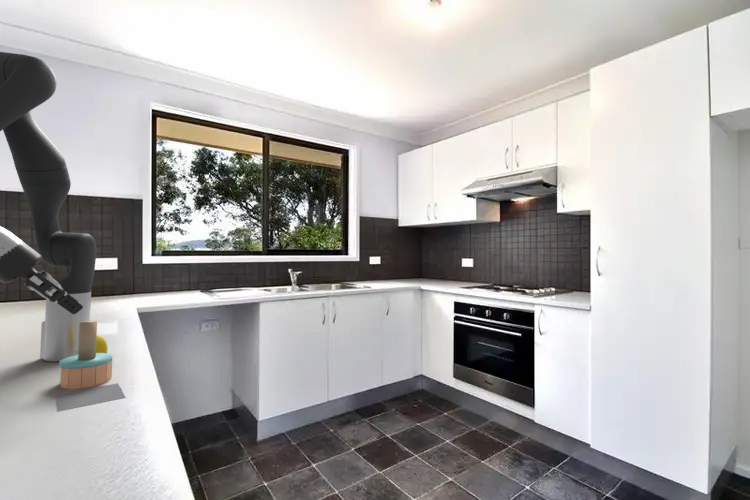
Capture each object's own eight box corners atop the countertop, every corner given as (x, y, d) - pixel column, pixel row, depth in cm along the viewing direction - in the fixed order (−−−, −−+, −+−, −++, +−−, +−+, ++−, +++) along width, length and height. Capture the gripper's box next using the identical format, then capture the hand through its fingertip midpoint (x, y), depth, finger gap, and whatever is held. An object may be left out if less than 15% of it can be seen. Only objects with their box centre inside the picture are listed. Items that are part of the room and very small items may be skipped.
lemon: (91, 371, 86) (92, 337, 86) (72, 369, 87) (73, 335, 87) (112, 364, 91) (113, 332, 91) (94, 362, 92) (95, 331, 93)
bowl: (59, 381, 78) (60, 360, 79) (108, 373, 84) (109, 354, 84) (60, 393, 72) (61, 370, 72) (113, 384, 78) (114, 363, 78)
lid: (58, 363, 78) (60, 320, 79) (109, 356, 85) (111, 316, 85) (59, 374, 72) (61, 327, 72) (114, 366, 78) (116, 322, 78)
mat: (55, 396, 71) (55, 394, 71) (117, 385, 77) (117, 383, 77) (57, 413, 63) (57, 411, 63) (125, 399, 70) (125, 397, 70)
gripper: (21, 240, 66) (97, 298, 74) (21, 240, 76) (88, 291, 84) (-23, 269, 62) (62, 327, 70) (-17, 265, 72) (57, 316, 80)
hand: (76, 308), depth 77 cm, fingers open, 8 cm apart
